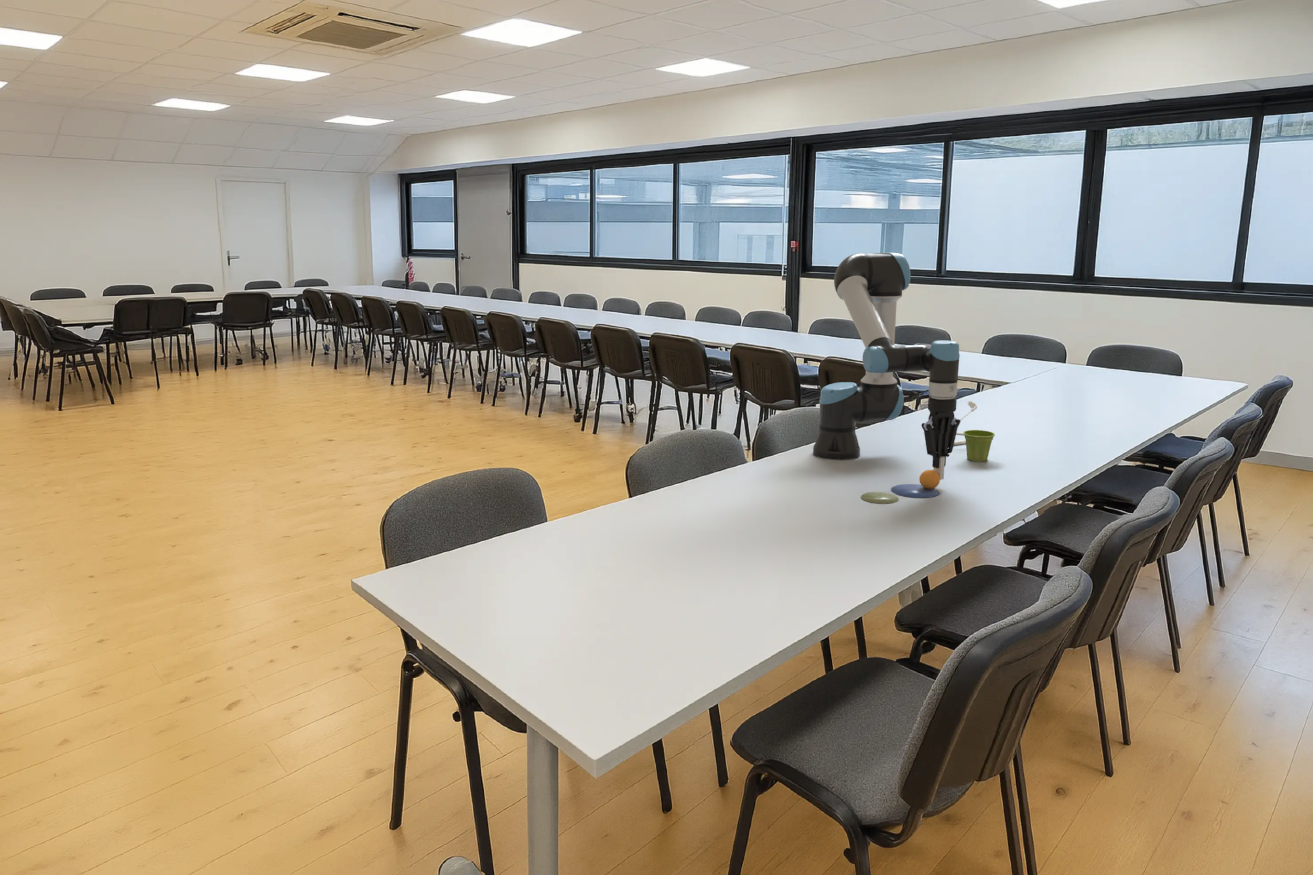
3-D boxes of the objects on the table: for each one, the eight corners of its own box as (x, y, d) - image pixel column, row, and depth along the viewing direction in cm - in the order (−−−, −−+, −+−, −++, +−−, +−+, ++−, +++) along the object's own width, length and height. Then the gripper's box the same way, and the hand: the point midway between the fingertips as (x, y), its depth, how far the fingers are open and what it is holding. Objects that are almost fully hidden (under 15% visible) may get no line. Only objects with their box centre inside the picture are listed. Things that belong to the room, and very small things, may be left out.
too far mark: (853, 496, 236) (853, 495, 236) (881, 490, 240) (881, 490, 240) (878, 505, 227) (878, 504, 227) (906, 500, 232) (906, 499, 232)
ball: (922, 489, 244) (912, 479, 242) (932, 473, 245) (922, 464, 242) (936, 495, 240) (926, 485, 237) (947, 478, 240) (937, 469, 238)
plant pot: (995, 463, 267) (997, 436, 265) (963, 462, 269) (965, 435, 267) (990, 456, 276) (992, 430, 274) (959, 455, 278) (961, 429, 276)
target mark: (881, 488, 242) (881, 488, 242) (915, 482, 248) (915, 481, 248) (914, 500, 231) (914, 499, 231) (949, 493, 237) (949, 492, 237)
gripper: (935, 401, 231) (931, 485, 236) (969, 396, 237) (964, 478, 242) (915, 397, 238) (911, 478, 243) (949, 392, 243) (944, 472, 249)
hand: (938, 478), depth 243 cm, fingers closed
